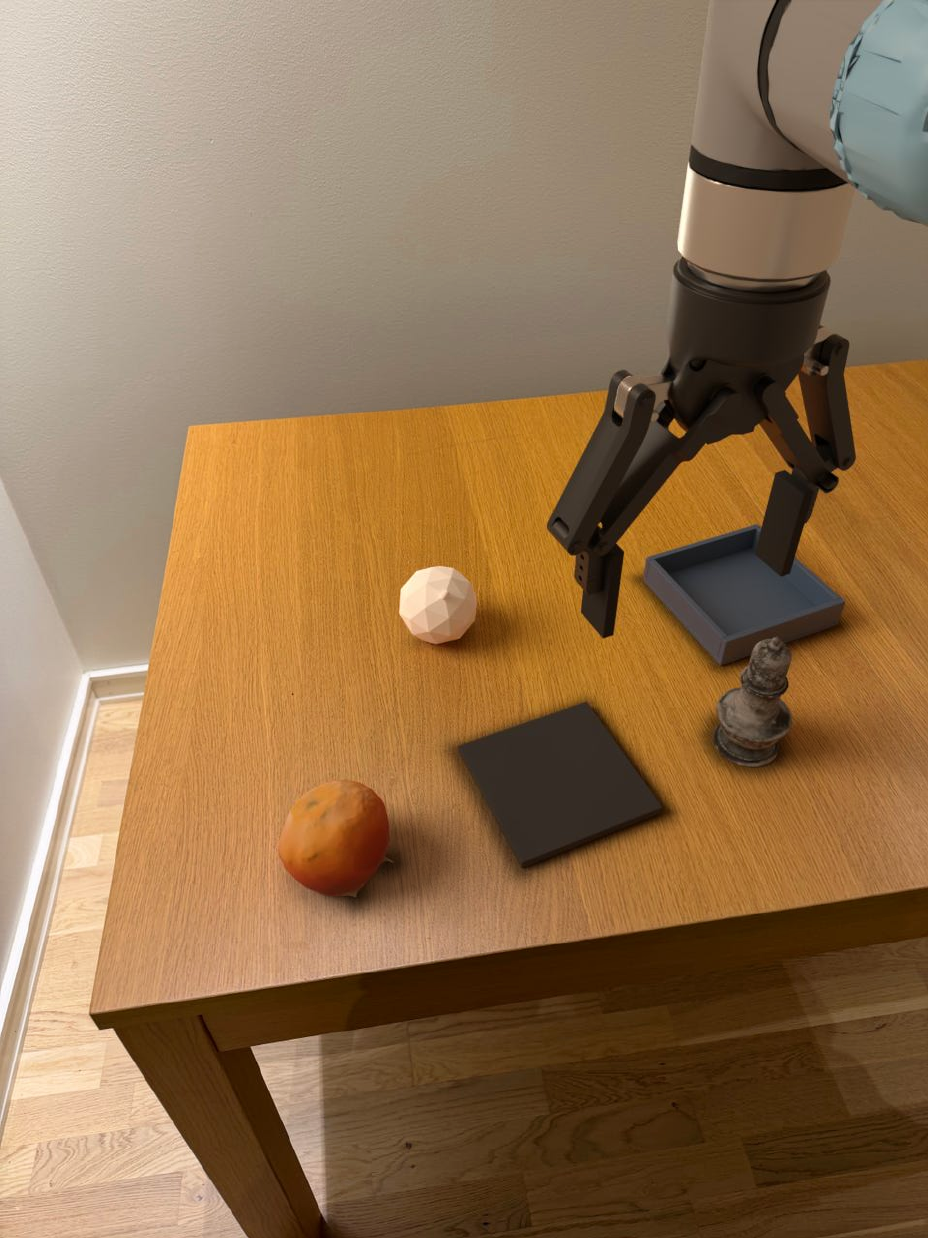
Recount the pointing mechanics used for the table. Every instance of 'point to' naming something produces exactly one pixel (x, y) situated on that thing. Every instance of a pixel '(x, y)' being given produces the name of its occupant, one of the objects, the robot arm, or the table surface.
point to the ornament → (438, 604)
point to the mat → (557, 783)
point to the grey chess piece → (756, 708)
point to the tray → (739, 595)
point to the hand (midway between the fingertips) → (687, 593)
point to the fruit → (335, 838)
